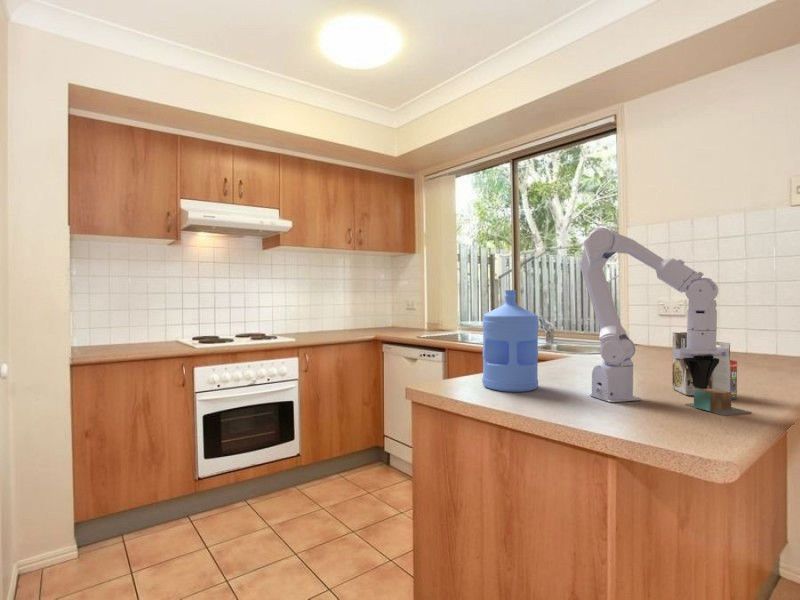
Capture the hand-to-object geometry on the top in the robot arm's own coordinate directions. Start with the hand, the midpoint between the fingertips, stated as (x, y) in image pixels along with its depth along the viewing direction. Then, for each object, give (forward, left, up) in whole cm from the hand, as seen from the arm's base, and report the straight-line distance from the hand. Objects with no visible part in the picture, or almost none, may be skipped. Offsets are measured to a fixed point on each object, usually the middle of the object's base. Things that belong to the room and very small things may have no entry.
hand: (700, 388), depth 105 cm
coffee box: (+14, +15, -5) cm, 21 cm away
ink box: (+17, +10, -5) cm, 20 cm away
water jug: (-30, +35, -5) cm, 46 cm away
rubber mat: (+5, 0, -5) cm, 7 cm away
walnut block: (0, 0, -3) cm, 3 cm away
